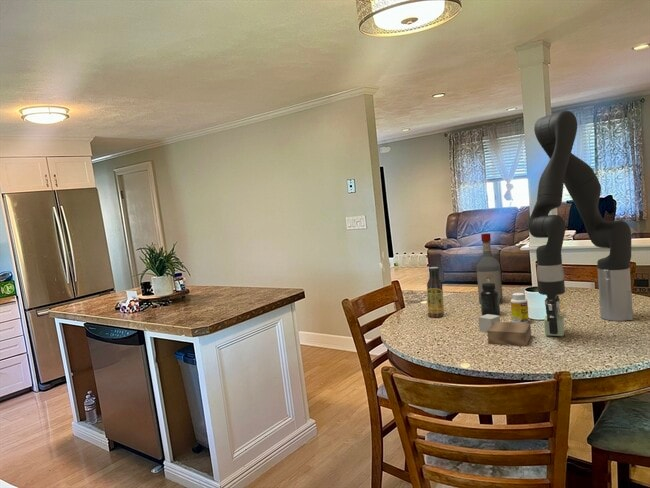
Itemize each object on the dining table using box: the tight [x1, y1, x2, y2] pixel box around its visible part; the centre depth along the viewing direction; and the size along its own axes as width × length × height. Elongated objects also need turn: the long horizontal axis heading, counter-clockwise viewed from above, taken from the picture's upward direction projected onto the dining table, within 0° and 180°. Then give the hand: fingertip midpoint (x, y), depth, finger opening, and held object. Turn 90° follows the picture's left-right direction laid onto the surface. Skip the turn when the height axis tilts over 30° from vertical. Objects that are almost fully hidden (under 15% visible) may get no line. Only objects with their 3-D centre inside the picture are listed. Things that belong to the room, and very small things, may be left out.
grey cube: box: [477, 314, 501, 333], centre depth 153 cm, size 5×5×5 cm
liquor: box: [476, 232, 504, 305], centre depth 191 cm, size 9×9×30 cm
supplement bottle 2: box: [510, 292, 530, 323], centre depth 159 cm, size 6×6×10 cm
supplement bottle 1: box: [480, 283, 501, 316], centre depth 173 cm, size 7×7×12 cm
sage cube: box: [543, 315, 565, 337], centre depth 141 cm, size 5×5×5 cm
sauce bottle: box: [426, 266, 445, 318], centre depth 179 cm, size 6×6×20 cm
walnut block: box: [486, 321, 532, 346], centre depth 142 cm, size 11×11×4 cm
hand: (554, 330), depth 141 cm, fingers closed on sage cube, 5 cm apart
